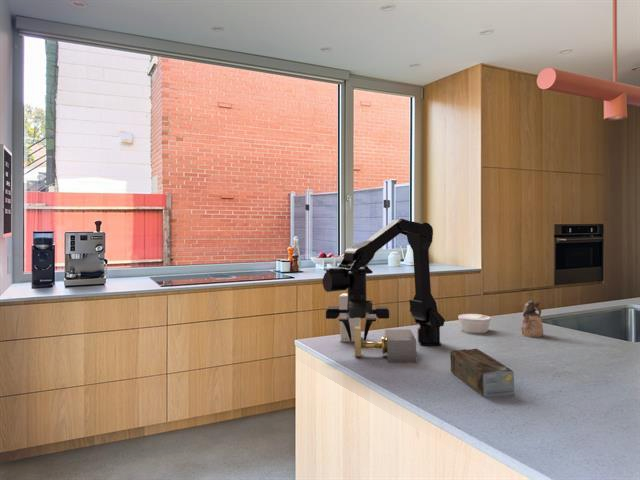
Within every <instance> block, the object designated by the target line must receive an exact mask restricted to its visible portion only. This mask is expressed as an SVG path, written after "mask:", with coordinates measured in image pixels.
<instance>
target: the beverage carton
mask: <svg viewBox="0 0 640 480" xmlns="http://www.w3.org/2000/svg"><path fill="white" fill-rule="evenodd" d="M449 354H450V371H451V373H452V374H454V375H455V376H456V377H458V379H460V380H461V381H463V383H465V384H466V385H467V386H469V387H470V388H471V389H473V390H474V391H475V392H476V393H478V394H479V395H480V396H482V397H483V398H490V397H503V396H506V397H508V396H514V395H515V375H514V374H515V372H514V370H512V369H511V368H510V367H508V366H506V365H505V364H503V363H501V362H500V361H498V360H496V359H495V358H494V357H491V356H489V355H488V354H486V352H484V351H482V350H480V349H478V348H469V349H457V350H456V349H455V350H450V353H449Z"/></svg>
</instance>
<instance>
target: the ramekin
mask: <svg viewBox="0 0 640 480" xmlns="http://www.w3.org/2000/svg"><path fill="white" fill-rule="evenodd" d="M457 318H458V323H459V329H460V330H461V331H462V332H464V333H469V334H485V333H487V332H488V331H489V329H490V328H489V327H490V324H491V323H490V321H491V320H492V318H491V317H490V316H489V315H485V314H480V313H463V314H459V315H458V317H457Z"/></svg>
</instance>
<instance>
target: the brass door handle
mask: <svg viewBox="0 0 640 480" xmlns="http://www.w3.org/2000/svg"><path fill="white" fill-rule="evenodd" d="M361 329H362V328H361V327H355V342H354V357H355V358H356V357H360V358H361V357H362V350H367V349H369V350H370V349H371V350H373V349H374V350H375V349H376V350H377V349H378V350H379V349H381V355H386V353H387V338H385V335H384V336H382V335H381V340H380V341H362V330H361Z"/></svg>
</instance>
